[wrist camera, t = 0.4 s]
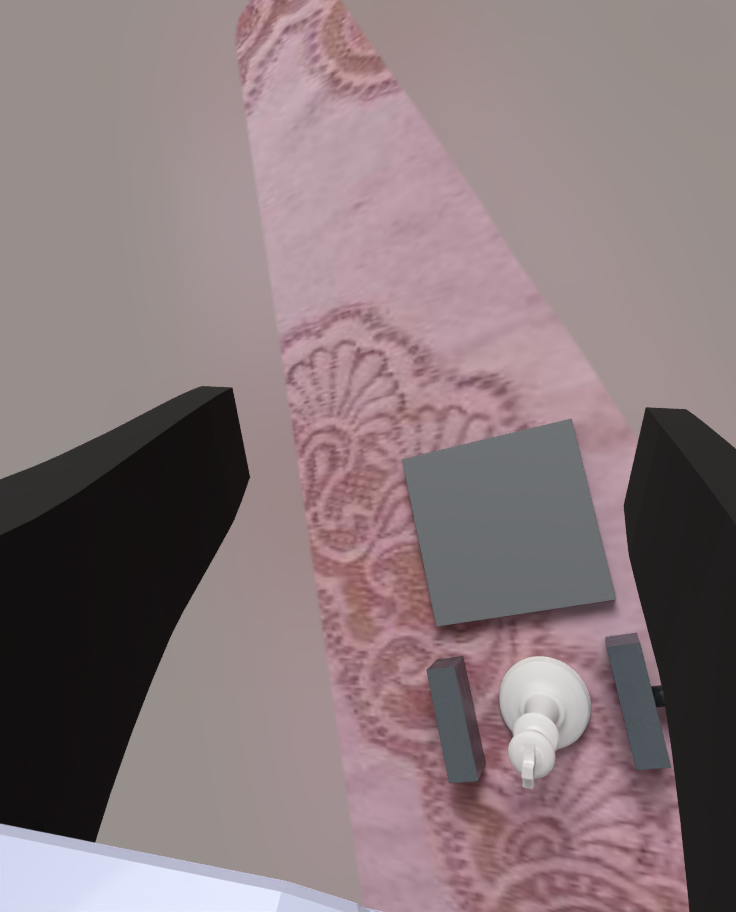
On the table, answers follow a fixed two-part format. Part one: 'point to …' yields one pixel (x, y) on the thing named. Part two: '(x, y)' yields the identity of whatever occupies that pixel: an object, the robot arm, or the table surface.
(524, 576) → the mat
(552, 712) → the chess piece
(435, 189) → the table surface
